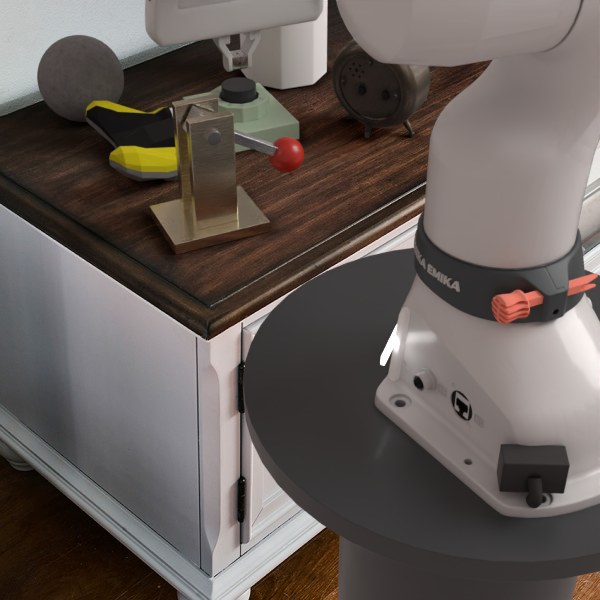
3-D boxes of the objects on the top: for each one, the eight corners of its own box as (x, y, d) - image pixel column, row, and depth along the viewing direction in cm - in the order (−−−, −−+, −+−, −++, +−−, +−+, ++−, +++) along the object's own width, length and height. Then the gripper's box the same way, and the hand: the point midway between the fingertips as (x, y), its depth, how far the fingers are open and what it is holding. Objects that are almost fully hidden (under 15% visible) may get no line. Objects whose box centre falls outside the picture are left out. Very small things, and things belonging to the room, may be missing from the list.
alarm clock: (428, 133, 121) (438, -3, 111) (408, 152, 117) (417, 13, 108) (346, 112, 126) (350, -20, 116) (324, 129, 122) (326, -6, 112)
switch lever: (285, 167, 107) (301, 136, 106) (299, 182, 105) (316, 151, 103) (176, 129, 100) (192, 96, 98) (189, 145, 97) (205, 111, 96)
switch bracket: (240, 195, 110) (235, 82, 102) (270, 231, 104) (267, 115, 96) (150, 215, 106) (138, 101, 99) (175, 254, 100) (165, 136, 93)
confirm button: (261, 101, 120) (261, 87, 119) (229, 108, 118) (228, 94, 117) (248, 88, 123) (248, 74, 122) (216, 94, 121) (216, 80, 120)
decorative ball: (132, 130, 122) (123, 50, 116) (46, 140, 120) (33, 59, 114) (122, 95, 130) (114, 18, 124) (41, 104, 128) (29, 26, 122)
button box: (299, 139, 120) (299, 107, 118) (219, 156, 117) (217, 124, 114) (259, 98, 129) (258, 68, 126) (183, 113, 125) (181, 83, 123)
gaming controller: (118, 203, 108) (209, 185, 111) (112, 157, 105) (206, 139, 108) (86, 142, 119) (169, 127, 122) (80, 98, 116) (165, 83, 119)
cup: (245, 54, 140) (239, -86, 129) (327, 56, 139) (329, -85, 129) (237, 89, 131) (231, -58, 120) (325, 91, 130) (327, -57, 120)
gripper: (148, -32, 104) (159, 95, 113) (330, -58, 111) (328, 63, 120) (130, -50, 109) (142, 73, 117) (306, -74, 116) (305, 43, 124)
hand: (237, 68), depth 118 cm, fingers closed
